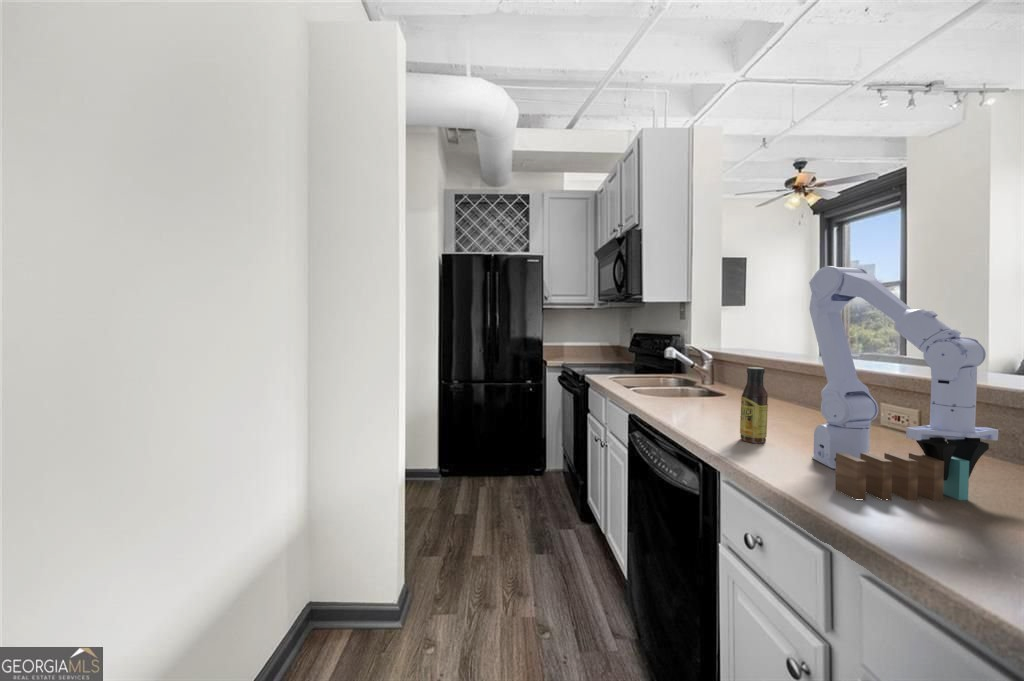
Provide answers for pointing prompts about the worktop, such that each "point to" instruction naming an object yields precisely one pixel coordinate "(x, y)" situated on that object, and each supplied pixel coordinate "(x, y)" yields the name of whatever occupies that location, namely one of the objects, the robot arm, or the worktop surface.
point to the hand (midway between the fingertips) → (950, 478)
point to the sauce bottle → (754, 408)
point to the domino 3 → (903, 476)
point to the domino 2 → (878, 476)
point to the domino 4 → (929, 476)
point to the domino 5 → (957, 479)
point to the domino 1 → (850, 476)
